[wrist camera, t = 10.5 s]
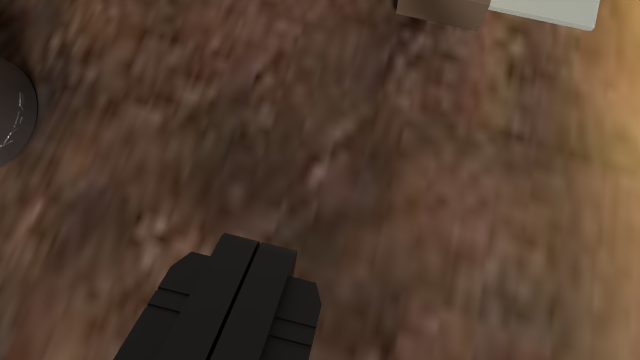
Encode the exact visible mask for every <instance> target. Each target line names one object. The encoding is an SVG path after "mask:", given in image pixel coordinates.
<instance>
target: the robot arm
mask: <svg viewBox="0 0 640 360" xmlns="http://www.w3.org/2000/svg"><path fill="white" fill-rule="evenodd" d="M36 118H37V100H36V94H35V91H34V88H33V86H32V84H31V82H30V80H29V79H28V77H27V76H26V75H25V73H24V72H23V71H22V70H20V69H19V68H18V67H17V66H15V65H14V64H12V63H11V62H9V61H7V60H5V59H4V58H2V57H0V167H1V166H2V165H4V164H5V163H7V162H9V161H10V160H12V159H13V158H14V157H15V156H16V155H17V154H18V153H19V152H20V151H21V150H22V149H23V147H24V146H25V144H26V143H27V142H28V140H29V138H30V136H31V134H32V132H33V129H34V126H35V122H36ZM296 257H297V251H296V250H292V249H288V248H284V247H280V246H276V245H272V244H268V243H264V242H262V243H261V244H260V242H259V241H255V240H251V239H247V238H243V237H239V236H235V235H231V234H227V233H224V234H223V235H222V236H221V238H220V240H219V242H218V243H217V245H216V247H215V249H214V251H213V253H212V255H211V256H207V255H203V254H199V253H195V252H191V253H189V254H188V255H186V256H185V257H183V258H182V259H181V260H179V261H178V262H176V263H175V264H174V265H172V266H171V267H170V269H169V270H168V272H167V274H166V275H165V277H164V278H163V280H162V282H161V283H160V285H159V286H158V290H157V291H155V293H154V295H153V296H152V298H151V299H150V301H149V303H148V306H147V308H145V309H144V311H143V312H142V314H141V316H140V317H139V319H138V320H137V322H136V324H135V325H134V327H133V329H132V330H131V332H130V333H129V335H128V337H127V338H126V340H125V341H124V343H123V345H122V346H121V348H120V350H119V351H118V353H117V354H116V356H115V358H114V359H113V360H309V356H310V351H311V347H312V343H313V339H314V334H315V330H316V326H317V321H318V317H319V313H320V309H321V301H320V297H319V293H318V289H317V286H316V283H314V282H310V281H306V280H303V279H299V278H295V277H293V274H294V268H295V263H296Z"/></svg>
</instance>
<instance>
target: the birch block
mask: <svg viewBox="0 0 640 360" xmlns="http://www.w3.org/2000/svg"><path fill="white" fill-rule="evenodd" d="M490 2H491V0H398V4H397V11H396V14H401V15H406V16H410V17H415V18H419V19H424V20H429V21H433V22H438V23H443V24H447V25H452V26H457V27H461V28H466V29H470V30H475V31H477V30H478V28H479V26H480V24H481V22H482V20H483V18H484V16H485V14H486V12H487V10H488V8H489V6H490Z"/></svg>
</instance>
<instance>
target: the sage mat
mask: <svg viewBox="0 0 640 360" xmlns="http://www.w3.org/2000/svg"><path fill="white" fill-rule="evenodd" d="M599 3H600V0H491V2H490V6H489V8H488V10H493V11H497V12H502V13H507V14H512V15H516V16H521V17H526V18H531V19H535V20H540V21H545V22H549V23H554V24H559V25H564V26H568V27H573V28H578V29H583V30H587V31H592V30H593V29H594V27H595V22H596V17H597V12H598V7H599Z"/></svg>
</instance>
